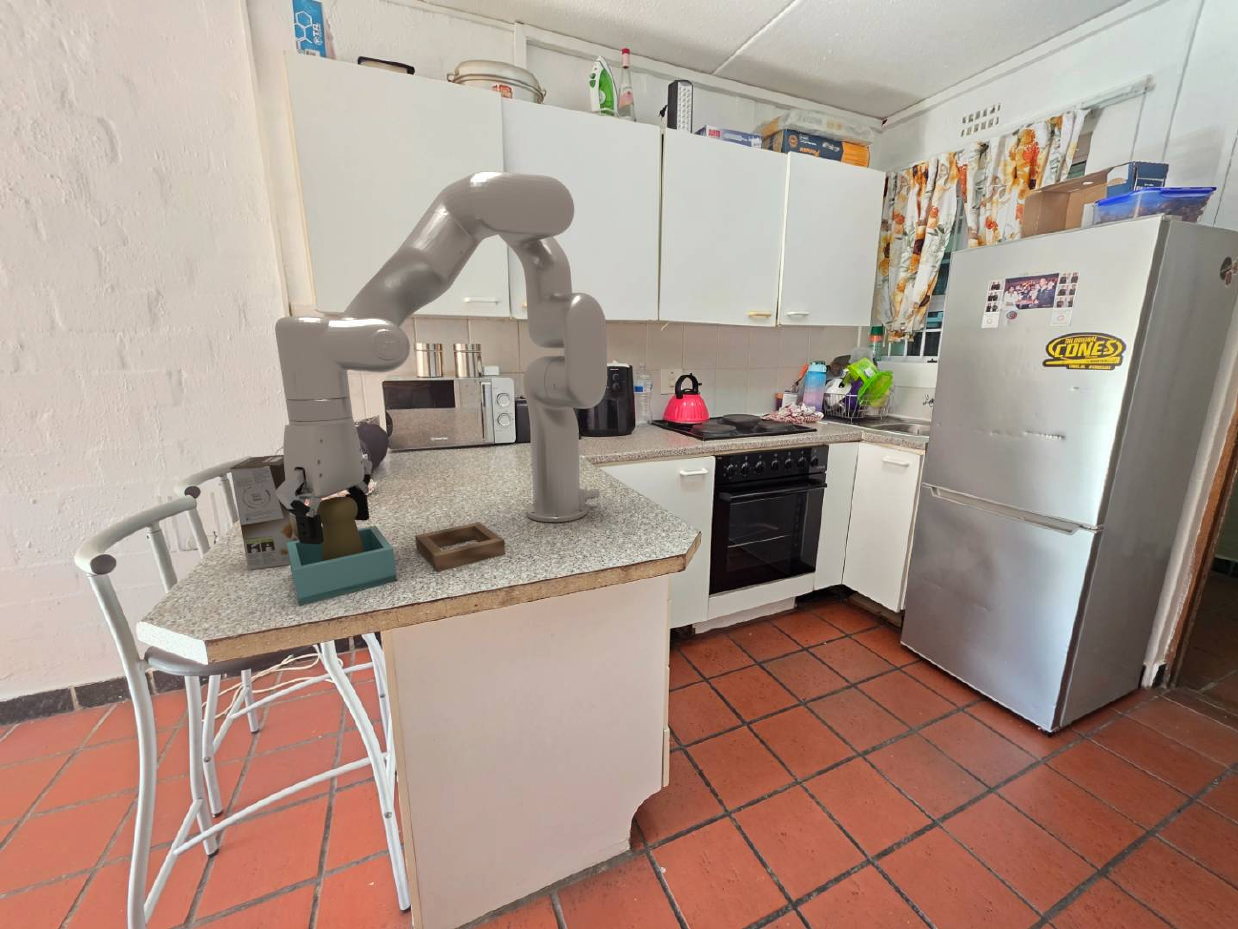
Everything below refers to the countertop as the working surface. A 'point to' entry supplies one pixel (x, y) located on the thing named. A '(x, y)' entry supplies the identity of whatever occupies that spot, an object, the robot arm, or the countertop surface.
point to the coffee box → (263, 511)
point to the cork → (339, 528)
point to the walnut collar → (459, 556)
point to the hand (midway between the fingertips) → (337, 530)
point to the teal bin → (341, 568)
